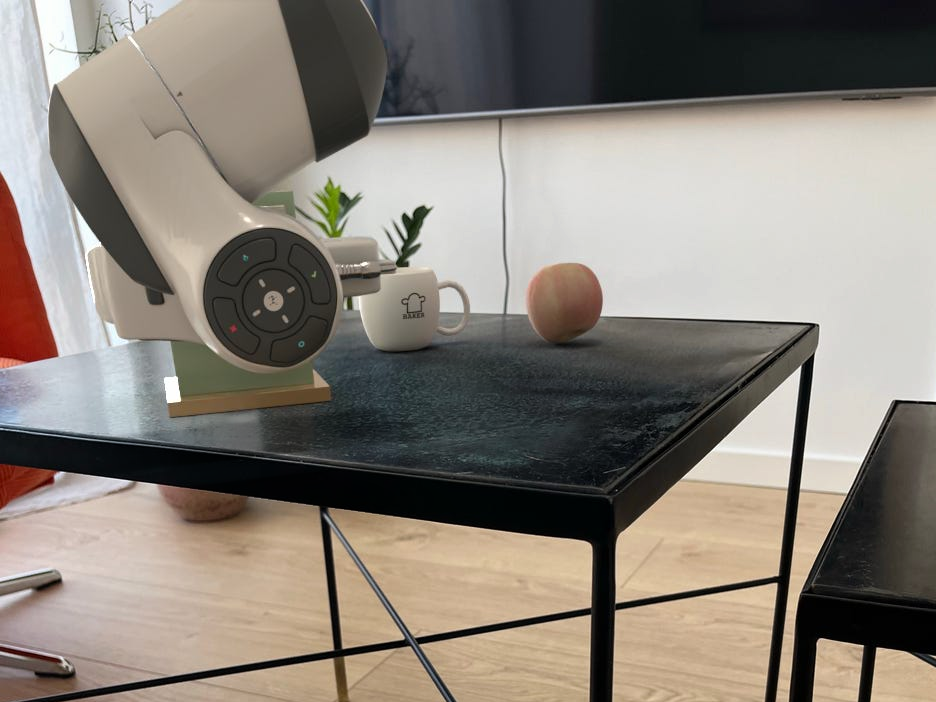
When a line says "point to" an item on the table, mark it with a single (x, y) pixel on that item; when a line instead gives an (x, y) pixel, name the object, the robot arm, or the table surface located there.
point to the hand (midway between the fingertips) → (231, 266)
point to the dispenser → (237, 370)
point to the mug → (408, 310)
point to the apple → (564, 301)
